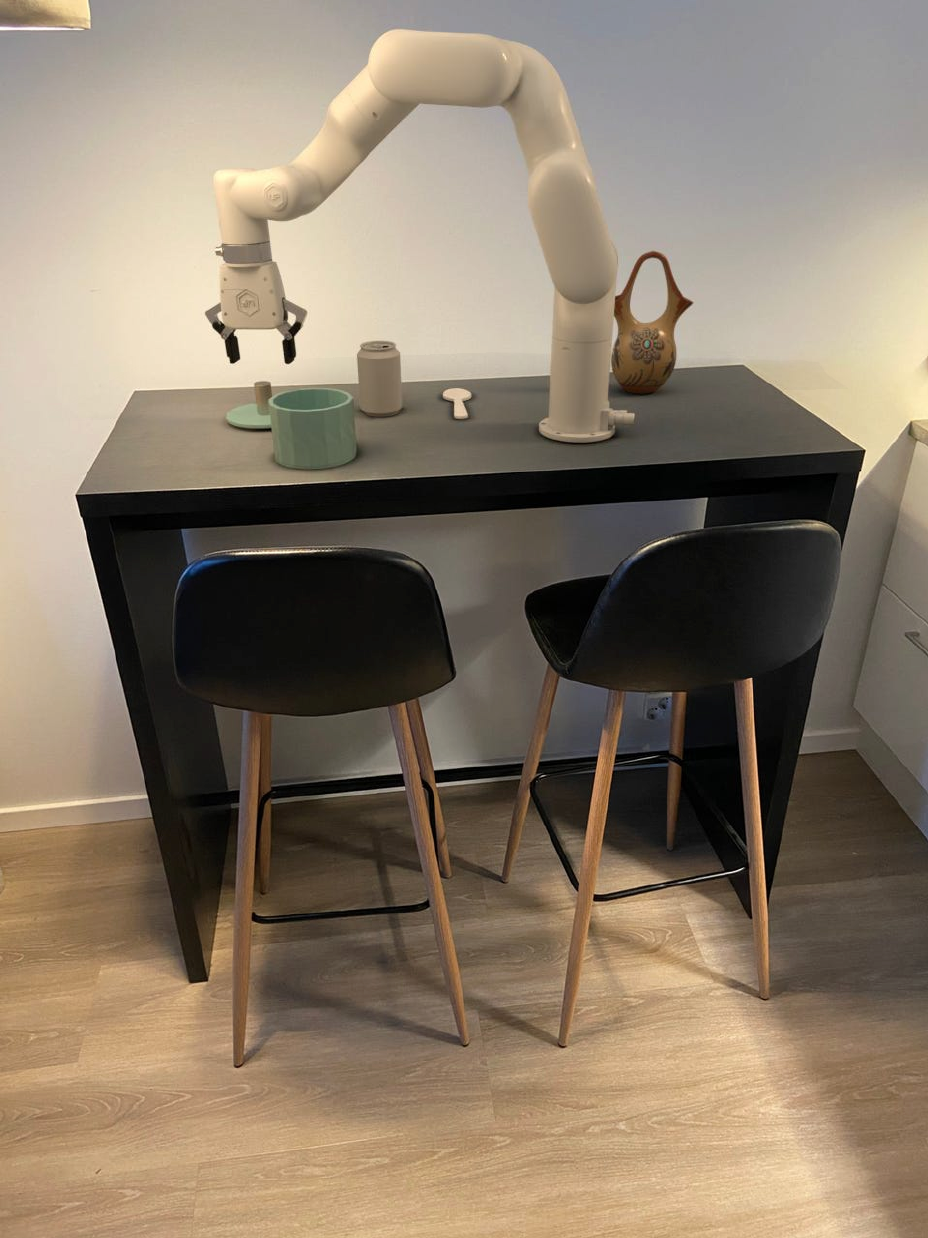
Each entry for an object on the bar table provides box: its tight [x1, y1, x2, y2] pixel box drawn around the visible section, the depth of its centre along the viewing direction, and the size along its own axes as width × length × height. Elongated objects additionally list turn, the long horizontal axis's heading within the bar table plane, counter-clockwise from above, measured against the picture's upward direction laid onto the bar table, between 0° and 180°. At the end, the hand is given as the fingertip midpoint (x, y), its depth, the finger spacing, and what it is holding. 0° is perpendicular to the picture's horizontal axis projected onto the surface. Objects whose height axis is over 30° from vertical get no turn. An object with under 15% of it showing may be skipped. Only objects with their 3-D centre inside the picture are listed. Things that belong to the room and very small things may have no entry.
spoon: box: [442, 387, 472, 420], centre depth 166 cm, size 5×18×1 cm, turn 3°
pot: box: [268, 387, 358, 471], centre depth 141 cm, size 13×13×9 cm
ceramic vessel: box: [610, 250, 694, 395], centre depth 167 cm, size 16×9×25 cm, turn 93°
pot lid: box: [225, 380, 273, 430], centre depth 158 cm, size 14×14×6 cm
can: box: [356, 340, 403, 418], centre depth 160 cm, size 8×8×12 cm
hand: (262, 361), depth 154 cm, fingers open, 9 cm apart
